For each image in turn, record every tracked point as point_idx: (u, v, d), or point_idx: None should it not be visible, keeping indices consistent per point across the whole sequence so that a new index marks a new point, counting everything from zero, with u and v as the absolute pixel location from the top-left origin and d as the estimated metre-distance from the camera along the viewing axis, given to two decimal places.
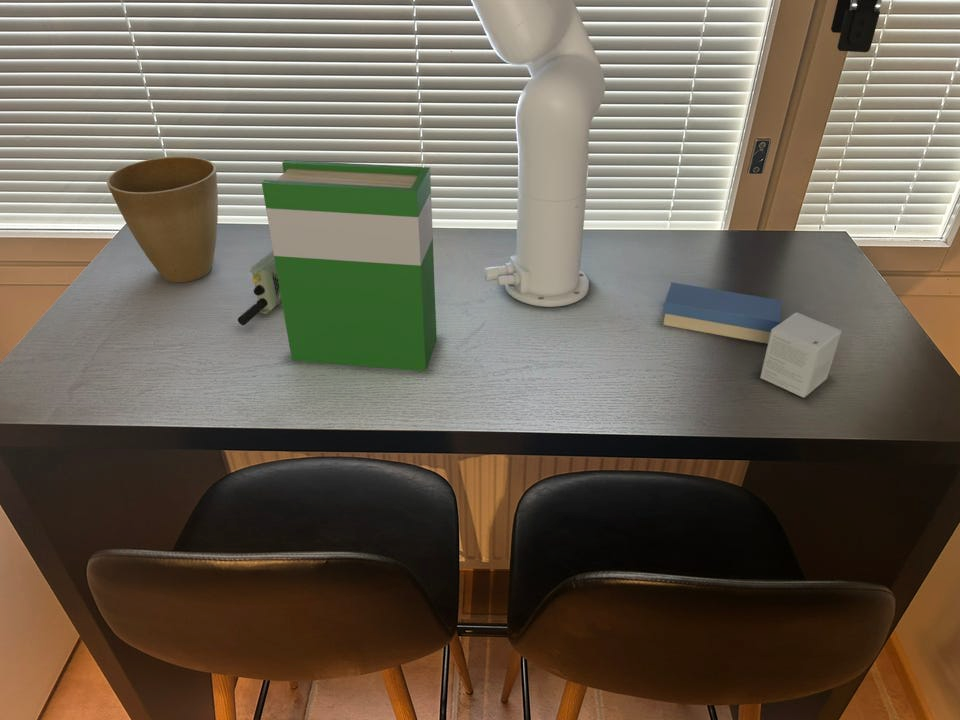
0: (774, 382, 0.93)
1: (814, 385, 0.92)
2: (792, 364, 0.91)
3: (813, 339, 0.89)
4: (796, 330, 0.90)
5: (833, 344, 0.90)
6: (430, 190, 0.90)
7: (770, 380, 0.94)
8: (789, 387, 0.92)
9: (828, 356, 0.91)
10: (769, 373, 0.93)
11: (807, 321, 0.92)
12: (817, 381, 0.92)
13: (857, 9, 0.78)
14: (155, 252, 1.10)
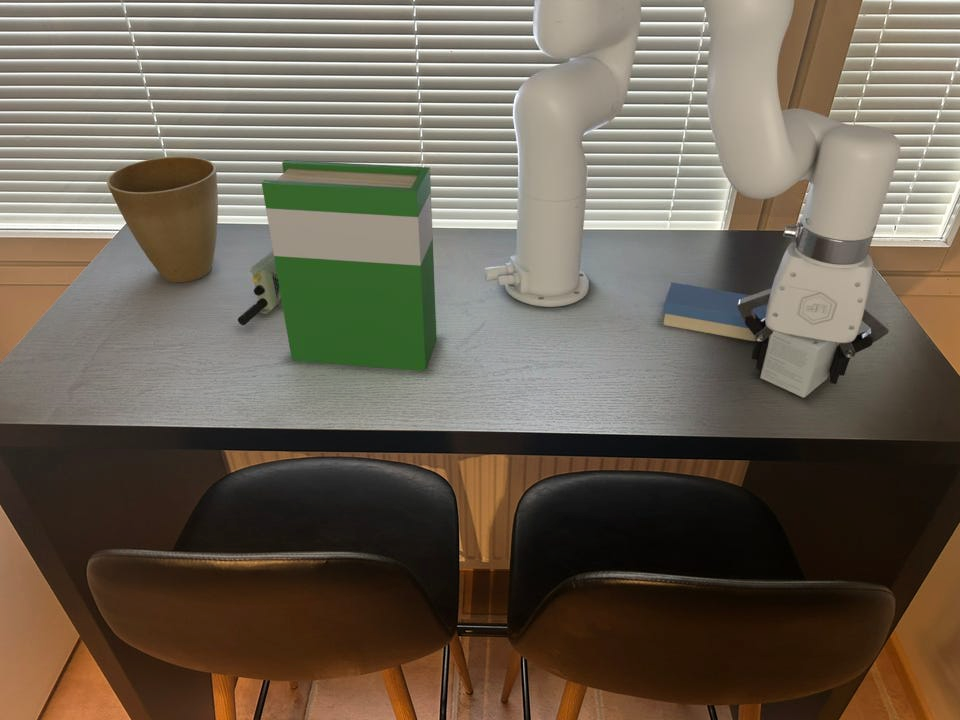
0: (774, 382, 0.93)
1: (814, 385, 0.92)
2: (792, 364, 0.91)
3: (813, 339, 0.89)
4: None
5: (833, 344, 0.90)
6: (430, 190, 0.90)
7: (770, 380, 0.94)
8: (789, 387, 0.92)
9: (828, 356, 0.91)
10: (769, 373, 0.93)
11: None
12: (817, 381, 0.92)
13: None
14: (155, 252, 1.10)
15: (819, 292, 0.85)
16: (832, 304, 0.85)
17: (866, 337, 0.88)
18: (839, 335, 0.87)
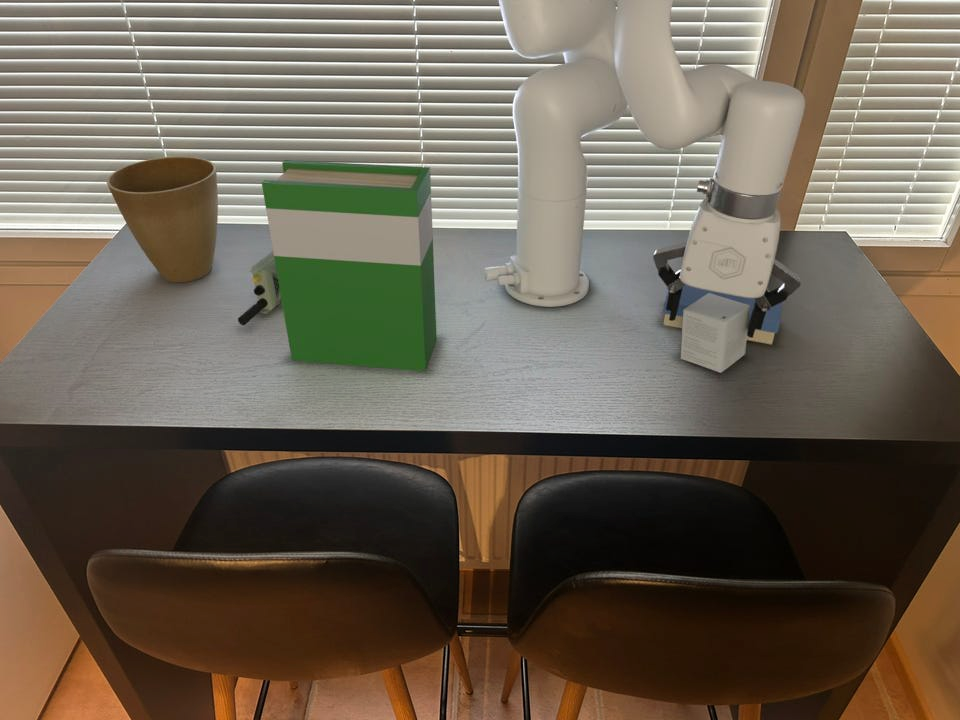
0: (693, 361, 0.97)
1: (730, 360, 0.95)
2: (705, 341, 0.94)
3: (722, 315, 0.92)
4: (706, 308, 0.94)
5: (743, 319, 0.94)
6: (430, 190, 0.90)
7: (689, 359, 0.97)
8: (706, 364, 0.95)
9: (740, 331, 0.94)
10: (687, 353, 0.97)
11: (718, 300, 0.96)
12: (733, 356, 0.95)
13: None
14: (155, 252, 1.10)
15: (729, 247, 0.87)
16: (741, 259, 0.87)
17: (781, 291, 0.90)
18: (749, 290, 0.89)
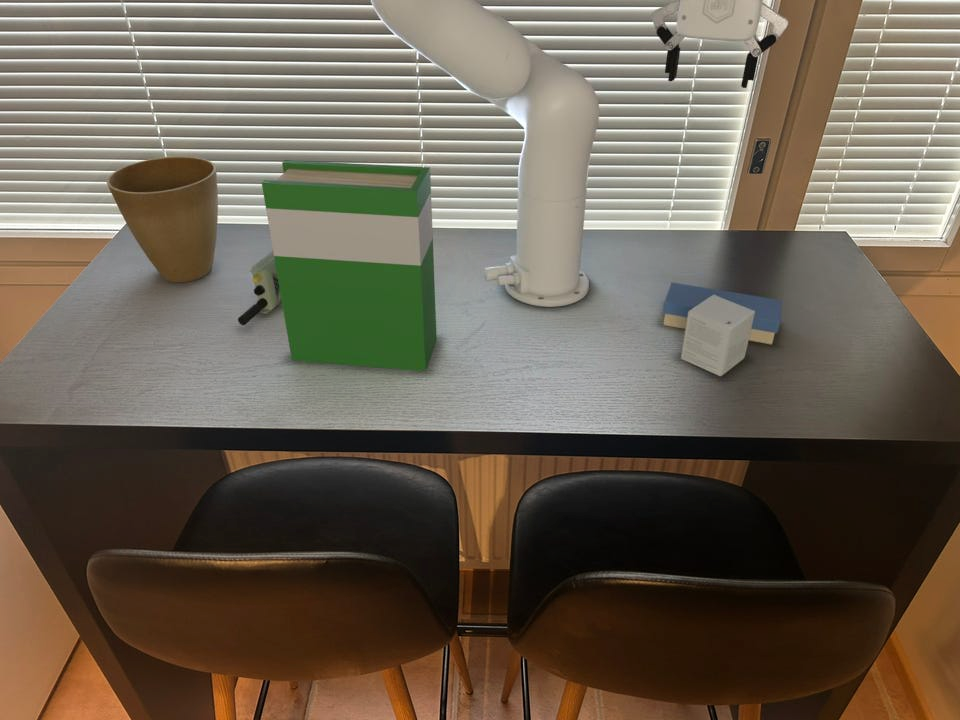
0: (693, 362, 0.97)
1: (730, 364, 0.95)
2: (708, 344, 0.94)
3: (727, 320, 0.92)
4: (711, 312, 0.94)
5: (747, 324, 0.94)
6: (430, 190, 0.90)
7: (690, 360, 0.97)
8: (706, 366, 0.96)
9: (743, 336, 0.94)
10: (688, 354, 0.97)
11: (723, 303, 0.96)
12: (733, 360, 0.95)
13: None
14: (155, 252, 1.10)
15: None
16: None
17: (770, 34, 0.97)
18: (740, 31, 0.96)
